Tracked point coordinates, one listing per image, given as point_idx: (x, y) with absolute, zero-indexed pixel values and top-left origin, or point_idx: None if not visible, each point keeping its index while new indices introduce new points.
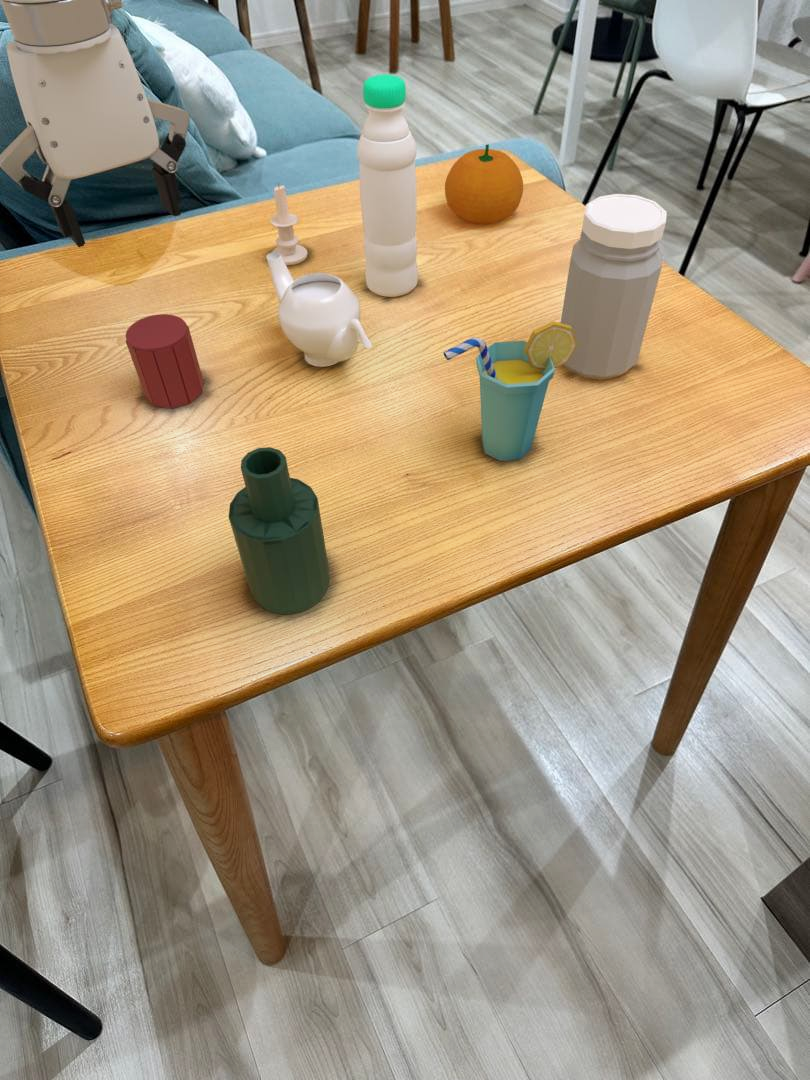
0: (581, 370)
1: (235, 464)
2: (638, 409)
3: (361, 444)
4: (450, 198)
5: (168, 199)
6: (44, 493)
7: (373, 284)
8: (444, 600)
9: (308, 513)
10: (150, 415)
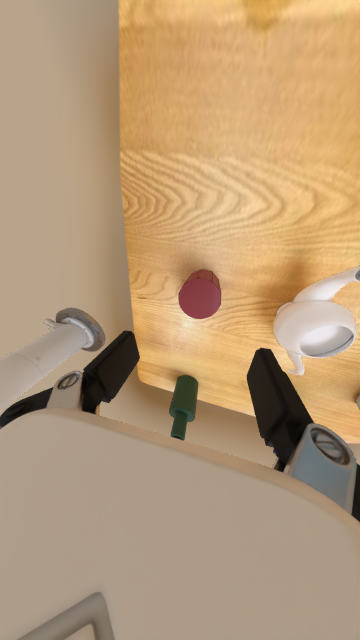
0: (357, 403)
1: (198, 344)
2: (341, 414)
3: (244, 365)
4: None
5: (252, 396)
6: (133, 313)
7: None
8: (215, 404)
9: (188, 420)
10: None
